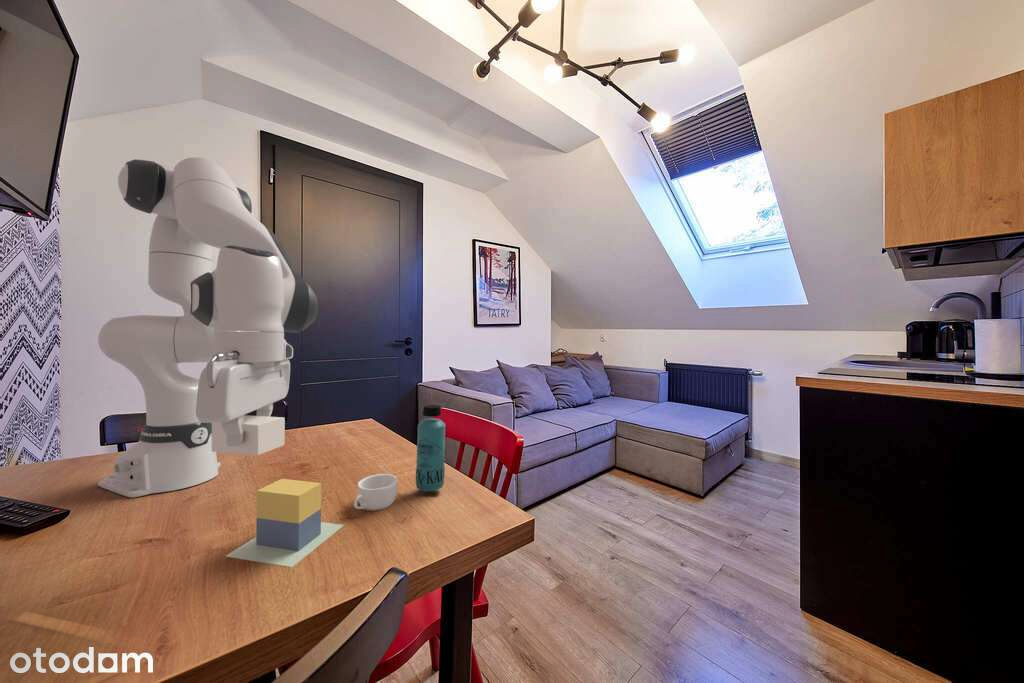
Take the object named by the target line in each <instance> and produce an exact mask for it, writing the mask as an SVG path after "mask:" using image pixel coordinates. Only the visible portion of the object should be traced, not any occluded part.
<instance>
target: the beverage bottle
mask: <svg viewBox="0 0 1024 683" xmlns="http://www.w3.org/2000/svg"><path fill="white" fill-rule="evenodd" d="M441 415H442V406H441V405H439V404H426V405H424V406H423V412H422V416H425V417H431V418H424V419H422V420H420V422H419V423H418V424H417V441H416V442H417V443H416V448H415V449H416V454H415V456H416V457H415V459H416V460H415V462H416V466H415V486H416V489H417V490H419V491H422V492H433V491H434V492H435V491H437V490H440V489H441V488H442V487H443V486H444V484H445V482H444V481H445V474H446V471H445V470H446V465H445V458H446V456H445V455H446V449H445V447H446V446H445V445H446V443H445V442H446V440H445V439H446V423H445V422H444V421H443V420H442V419H440V418H432V417H439V416H441Z"/></svg>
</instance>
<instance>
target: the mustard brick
mask: <svg viewBox="0 0 1024 683" xmlns="http://www.w3.org/2000/svg"><path fill="white" fill-rule="evenodd" d="M320 509H321V510H322V483H321V482H314V481H306V480H305V481H304V480H296V479H287V478H280V479H278V480H276V481H274V482H272V483H270V484H268V485H266V486H264V487H262V488H260V489H258V490H256V519H257V518H262V519H269V520H276V521H284V522H291V523H298V524H299V523H301V522H302V521H303V520H305V519H306V518H308V517H309V516H311V515H312V514H314V513H315V512H317V511H318V510H320Z"/></svg>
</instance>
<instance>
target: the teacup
mask: <svg viewBox="0 0 1024 683" xmlns="http://www.w3.org/2000/svg"><path fill="white" fill-rule="evenodd" d="M397 489H398V478H397V476H395V475H393V474H389V473H379V474H373V475H368V476H365V477H364V478H362V479H360V480H359V481H358V482H357V496H356V497H355V498H354V502H353V507H354V509H357V510H366V511H381V510H384V509H386V508H389V507H390V506H392V504H393V503H394V501H395V499H396V498H397V497H396V496H397ZM358 504H359V505H360V506H358Z"/></svg>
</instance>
